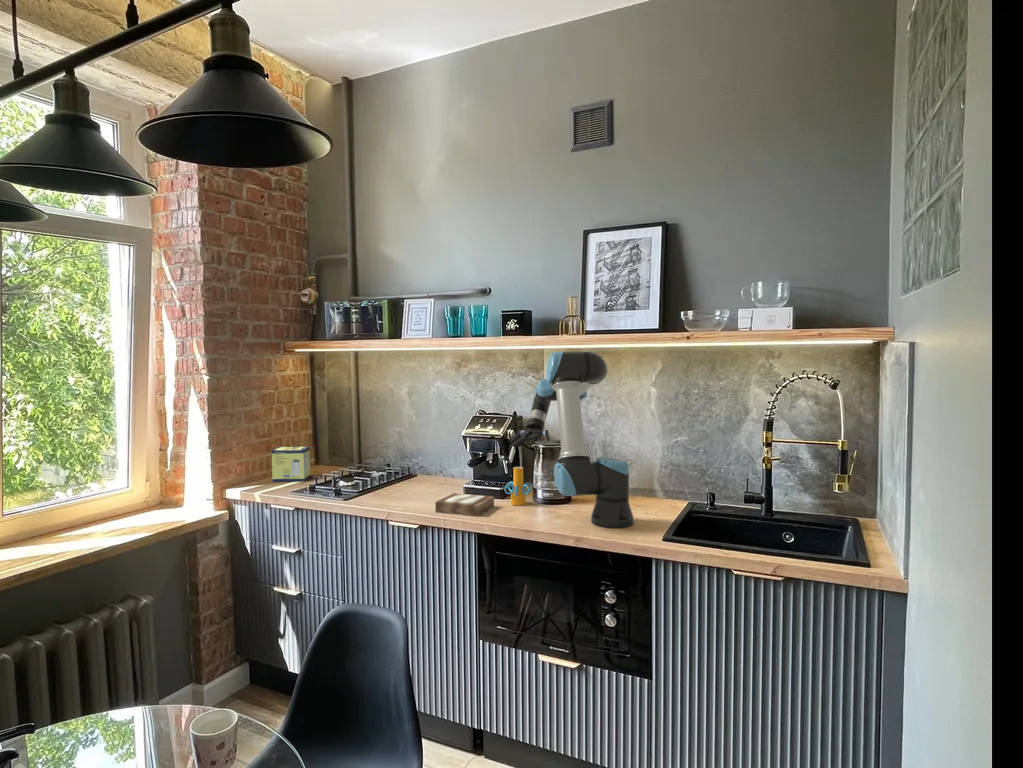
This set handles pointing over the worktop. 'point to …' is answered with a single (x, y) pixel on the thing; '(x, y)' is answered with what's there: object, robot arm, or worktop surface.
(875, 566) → the worktop surface
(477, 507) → the pedestal
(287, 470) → the protein box
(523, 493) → the cylinder
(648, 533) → the worktop surface
